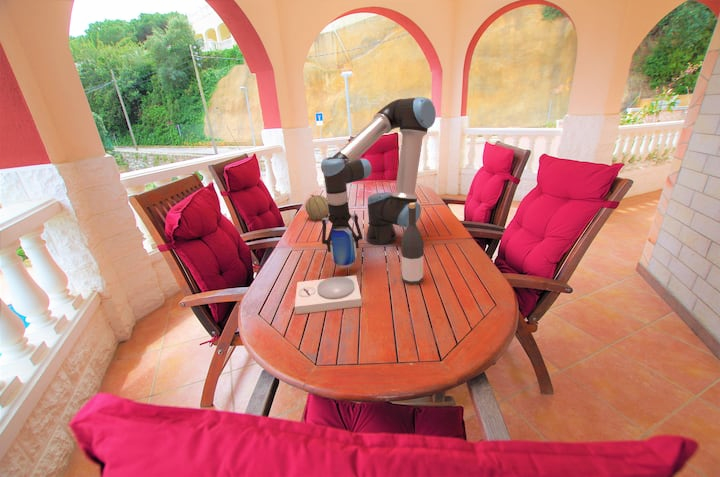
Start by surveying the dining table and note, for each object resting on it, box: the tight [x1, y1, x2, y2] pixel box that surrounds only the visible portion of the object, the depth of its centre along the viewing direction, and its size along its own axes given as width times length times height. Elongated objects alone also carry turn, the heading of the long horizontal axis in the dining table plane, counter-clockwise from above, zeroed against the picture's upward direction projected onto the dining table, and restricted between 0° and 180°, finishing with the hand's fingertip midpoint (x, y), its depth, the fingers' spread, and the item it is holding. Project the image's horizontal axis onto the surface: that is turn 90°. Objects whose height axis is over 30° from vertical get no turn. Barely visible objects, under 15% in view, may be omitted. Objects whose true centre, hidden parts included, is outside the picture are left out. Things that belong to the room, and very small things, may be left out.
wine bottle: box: [400, 203, 425, 286], centre depth 114 cm, size 8×8×30 cm
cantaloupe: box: [305, 194, 329, 220], centre depth 191 cm, size 15×15×15 cm
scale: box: [294, 275, 363, 315], centre depth 111 cm, size 22×16×4 cm
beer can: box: [331, 226, 356, 269], centre depth 123 cm, size 8×8×16 cm
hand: (344, 257), depth 125 cm, fingers closed on beer can, 8 cm apart
